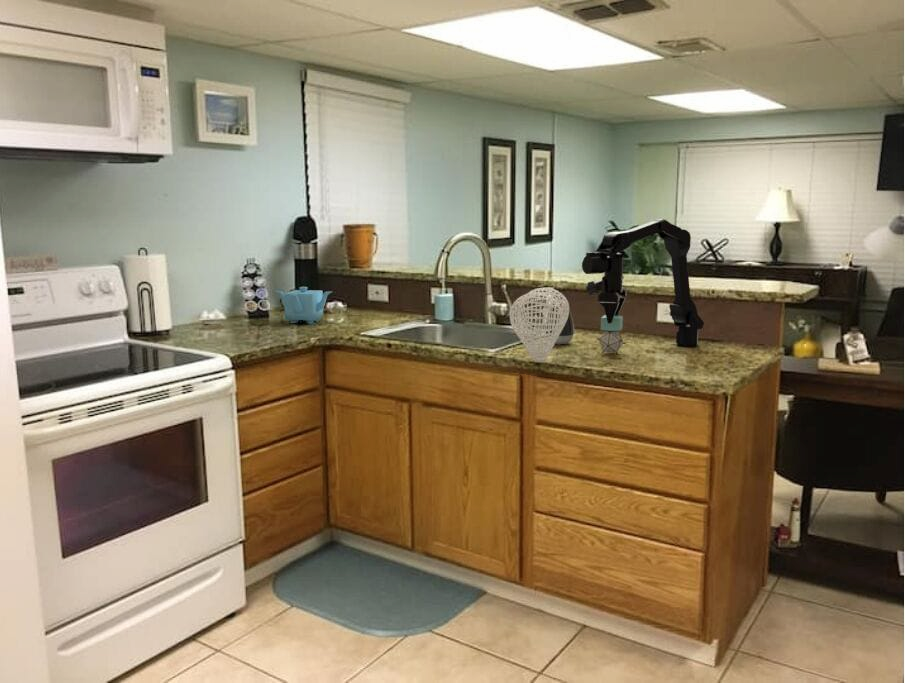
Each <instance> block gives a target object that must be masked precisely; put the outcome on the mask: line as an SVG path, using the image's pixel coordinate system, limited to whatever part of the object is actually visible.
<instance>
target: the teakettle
mask: <svg viewBox="0 0 905 683" xmlns="http://www.w3.org/2000/svg"><path fill="white" fill-rule="evenodd" d="M298 288H299V289H295V290H292V291H289V292H285V293H284V292H283V291H281V290H274V292H275V293H277V294H278V295H279V297H280V299H281V302H282V303H281V304H282V305H283V307H284V321H290V323H297V324H298V322H299V321H298V320H303V321H305V323H306V324H307V323H308V324H307V325H312V324H311V323H314V322H313V321H317V322H320V320H319V318H321V317H323V316H324V307H325V305H326V302H327V299H328V296H329V295H330V294H332V291H325V292H324V293H323V290H320V289H319V290H313V289H312V290H310V289H309V290H308V287H307V286H300V287H298ZM290 323H289V324H290ZM314 324H315V323H314Z"/></svg>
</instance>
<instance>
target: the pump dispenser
mask: <svg viewBox="0 0 905 683" xmlns="http://www.w3.org/2000/svg"><path fill="white" fill-rule="evenodd" d="M553 302H554V301H553ZM558 302H559V301H558ZM554 303H555V302H554ZM561 303H562V302H561ZM553 305H555V304H553ZM560 305H561V304H560ZM563 306H564V305H563ZM554 307H555V306H554ZM561 307H562V306H561ZM556 308H557V309H558V307H556ZM564 308H565V307H564ZM566 309H567V308H566ZM564 310H565V309H564ZM551 311H552V307H551ZM553 312H554V308H553ZM556 312H557V310H556ZM563 313H564V311H563ZM553 315H554V314H553V313H552V318H553ZM565 316H566V315H565ZM548 318H549V313H548ZM550 318H551V313H550ZM556 318H557V314H556ZM559 318H560V315H559ZM548 320H549V319H548ZM556 321H557V320H555V324H556ZM550 322H551V319H550ZM552 323H553V320H552V322H551V324H552ZM558 323H559V321H558ZM545 324H548V323H547V319H545ZM553 326H554V325H553ZM558 327H559V326H558ZM554 328H555V326H554ZM545 329H546V326H545ZM547 329H548V326H547ZM549 329H550V326H549ZM551 329H552V326H551ZM550 333H552V330H551V331H550ZM554 333H555V332H554ZM546 334H548V331H546ZM574 335H575V325H574V319H573V316H572V312H571V309H570V308H569V315H568V319H567V321H566V324H565V326H564V328H563V329H562V331H561V333H560V335H559V337H558V339H557V340H556V342H555V344H565V345H568V344H569V343H570V342H572V340H573V338H574ZM550 336H551V335H550ZM545 337H546V338H548V336H545ZM552 337H553V336H552ZM554 339H555V338H554ZM548 340H549V339H548ZM551 341H552V340H551ZM555 344H554V345H555Z"/></svg>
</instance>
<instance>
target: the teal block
mask: <svg viewBox="0 0 905 683" xmlns="http://www.w3.org/2000/svg"><path fill="white" fill-rule="evenodd" d="M623 319H624V316H623V315H618V316H614V318H613V320H612V323H608V322H607V317H606V314H604V315H603V316H601V318H600V331H605V330H608V331H620V330H622V329H623V328H624V326H623V323H624V320H623ZM620 332H621V331H620Z"/></svg>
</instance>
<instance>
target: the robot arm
mask: <svg viewBox="0 0 905 683" xmlns="http://www.w3.org/2000/svg"><path fill="white" fill-rule="evenodd" d="M654 235H657V236H658V237H659V238H660V239H661V240H663V241H664V246H665V249H666V251H667V253H668V254H669V255H670V258H671V267H672V268H671V270H672V279H673V289H674V301H673V302H672V303H670V304H669V305H668V306H669V310H670V311H669V316H670V317H671V319H672V321H673V323H674V326H675V327H678V330H677V331H676V336H675V337H676V338H675V339H676V340H675V343H676V346H678V347H689V348H690V347H694V348H697V347H698V346H699V342H698V341H699V340H698V338H699V330H702V329H703V328H704V325H705V322H704V320H703V319H702V318H701V317H700V316H699V314H698V309H697V306H696V303H695V302H694V300H693V299H692V297H691V289H690V280H689V279H690V277H689V266H688V258H687V256H688V253H689V251H690V248H691V243H692V242H691V240H692V237H691V233H690V232H689V231H688V230H687V229H684V228H681V227H679V226H677V225H675V224H673V223H671V222H669V221H668V220H667V219H664V218H660V219H659V218H656V219H653V220H652V221H650V222H647V223H644V224H642V225H639V226H636V227H633V228H630V229H627V230H622V231H614V232H608V233H607V232H606V233H605V234H604V235H603V237H602V240H601V242H600V243H599V245H598V247H597V249H596V250H595V251H594V252H591V251H587V252H585V257H584V258H583V259H582V262H581V269H582V271H583V273H584V274H585V275H594V274H595V275H596V274H597V275H598V274H603V276H602V278H601V280H598V281H596V282H595V281H594V280H591V281H588V283H587V285H586V286H585V291H586V292H587V294H588V296H591V295H593V294H595V293H598V292H599V294H598V295H597V302H598V303H599V304H600V305H601V306H602V307H603V309H604V313H605V315H606V317H607V322H608V323H612V320H613V318H614V316H619V314H620V311H621V309H622V308H623V305H624V303H625V301H626V299H627V298H626V297H627V296H628V290H627V289H626V287H623V279H624V278H625V277H624V276H625V275H623V267H624V259H629V258H630V256H629V255H628V254H627V253H626V252H625V251H626V249H628V248H630V247H631V246H632V244H634V243H635V242H638V241H641V240H644V239H646V238H649V237H652V236H654ZM697 345H698V346H697Z"/></svg>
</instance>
